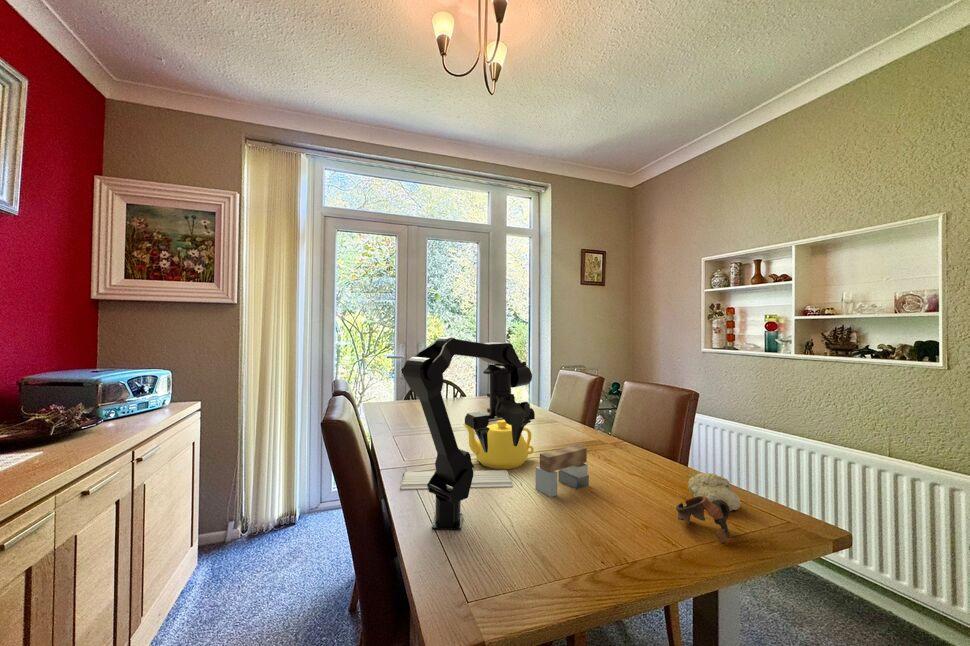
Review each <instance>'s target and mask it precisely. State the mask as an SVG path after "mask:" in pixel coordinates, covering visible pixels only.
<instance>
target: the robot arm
mask: <svg viewBox="0 0 970 646" xmlns="http://www.w3.org/2000/svg"><path fill="white" fill-rule="evenodd" d="M454 356H462V357H470V358H478V359H480V360H481V361H483V362H486V363H489V364H488V366H487V367H486V368H485V369H484V370H483V374H485V375H489V376H488V378H489V392H486V396H487V398H489V407H487V408H486V409H487V411H486V412H487V413H488V414H484V413H483V412H480V411H474V412H468V413H466V415H465V417H464V424H466V425H468V426H469V427H471V428H473V429H474V433H475V434H476V436H477V438H478V440H480V443H481V445H482V447H483V450H484V452H486V453H487V452H488V436H487V433H488V431H489V429H490V428H488V427H487V426H489V425H490V422H497V421H498V420H505V421H506V423H507V424H509V425H511V428H512V439H513V444H514V446H517V445H518V442H519V439H520V436H521V434H522V432H523V431H522V430H523V428H524V427H526V426H527V425H528V424H530V423H531V421H532V420H535V417H536V414H535V413H536V412H535V410H534V409H533V408H532V407H531V404H530V403H529V402H528V401H522V402H516V398H515V394H514V393H512V389H513V388H518V387H523V386H528V385H529V384H531V382H532V379H533V373H532V370H531V368H529V367H528V366H527V361H524V360H523V361H522V360H521V359H520V358H519V355H518V354H517V352H516V350H515V349H514V345H513V344H512V343H510V342H496V341H495V342H492V341H491V342H484V343H483V342H476V341H472V340H471V341H469V340H464V339H458V338H455V337H450V336H440V337H438V338H437V339H435V340H434V341H433V342H432V343H431V344H429V345H428V346H426V347H425V348H423V349H421V350H420V351H418V352H417V353H416V354H415V355H414V356H412V357H410V358H408V359H407V360H406V361H405V362H404V365H403V367H402V369H401V370H402V376H403V378H404V380H405V382H406V383H407V386H408V388H410V390H411V391H412V393H414V395H415V396H416V397H417V398H418V400H419V402H420V405H421V408H422V411H423V414H424V417H425V420H426V424H427V427H428V429H429V432H430V436H431V438H432V442H433V444H434V447H435V450H436V454H437V455H436V459H435V462H434V466H435V471H434V472H435V473H434V475H433V476H432V478H431V479H430V481H429V482H428V484H427V487H428V489H427V490H428V492H429V493H430V494H433V495H435V505H434V506H435V508H434V509H435V512H434V513H435V514H434V517H433V521H432V524H431V529H432V530H451V531H453V530H455V531H458V530H461V529H462V525H463V519H464V513H461V502H462V501H463V500H466V499H468V497H469V495H470V491H471V488H470V487H471V483H472V479H473V474H474V473H473V471H474V468H475V465H474V464H473V462H472V457H471V453H470V452H469V451H466V450H464V449H461V448H459V446H458V443H457V440H456V435H455V434H454V430H453V428H452V427H453V426H452V425H451V421H450V417H449V414H448V412H447V411H448V410H447V407H446V405H445V401H444V398H443V395H442V394H443V393H442V391H443V386H444V373H445V372H446V371H447V370H448V369H449V367H450V365H451V362H452V360H453V357H454ZM446 484H447V485H449V486H447V485H446ZM450 486H451V487H450ZM452 487H453V488H452Z"/></svg>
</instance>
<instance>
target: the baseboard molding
mask: <svg viewBox="0 0 970 646" xmlns="http://www.w3.org/2000/svg"><path fill="white" fill-rule="evenodd" d="M406 470H407V469H405V470H404V473H403V474H402V476H403V478H402V480H401V481H400V483H401V484H400V485H401V486H400V487H399V491H400V490H401V491H407V490H408V489H409V490H410V489H411V490H410V491H412V489H413V491H415V490H417V489H418V490H419V489H420V490H428V487H427V484H428V482H429V481H430V479H431V478H432V476H433V475H434V473H435V472H436V471H406ZM473 473H474V474H473V479H472V483H471V487H470V489H487V488H488V489H491V488H492V489H493V488H495V489H497V488H513V484H512V483H513V482H512V480H511V477H510V475H509V472H508V469H491V470H488V469H487V470H473ZM446 485H447V484H446ZM447 486H449V485H447ZM450 487H451V486H450ZM452 488H453V487H452ZM409 490H408V491H409Z"/></svg>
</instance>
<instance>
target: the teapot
mask: <svg viewBox="0 0 970 646" xmlns="http://www.w3.org/2000/svg"><path fill="white" fill-rule="evenodd" d="M462 425H463V426H464V427H465V428H466V430H467V433H468V444H469V445H468V446H469V448H470V451H471V452H472V453H473V454H475V456H476V459H477V460H478V461H479V462H480V464H481V465H482V466H484V467H486V468H489V467H490V468H491V469H493V470H510V469H511V470H512V469H516V468H519V467H521V466H523V464H524V463H525V462H526V461H527V459H528V457H529V455H532V454H533V453H534V450H535V449H534V447H533V446H532V445H530V444H531V441H532V431H531V430H530V429H529V428H528V427H526V426H525V427H524V428H523V430H522V432H523V431H525V432H527V438H526V440H525V438H524V436H523V435H522V433H521V436H520V439H519V442H518V445H517V446H514V444H513V439H512V428H511V425H509V424H507V423H506V421H505V420H498V421H496V423H493V424H488V426H487V427H488V428H490V429H489V431H488V433H487V436H488V452H487V453H486V452H484V450H483V447H482V445H481V443H480V440H479V439H478V441H477V440H476V437H475V436H476V435H475V434H476V432H475V430H474V429H473V428H471V427H469V426H468V425H466V424H465V423H462ZM529 449H530V450H529Z"/></svg>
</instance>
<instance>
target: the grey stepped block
mask: <svg viewBox="0 0 970 646" xmlns="http://www.w3.org/2000/svg"><path fill="white" fill-rule="evenodd" d="M588 466H589V465H588V464H586V463H581V464H578V465H574V466H571V467H567V468H563V469H560V470H558V482H560V483H562V484H563V485H566V486H568V487H570V488H572V489H574V490H576V491H577V490H580V489H583V488H586V487H589V486H590V476H589V471H588V468H589V467H588Z"/></svg>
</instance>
